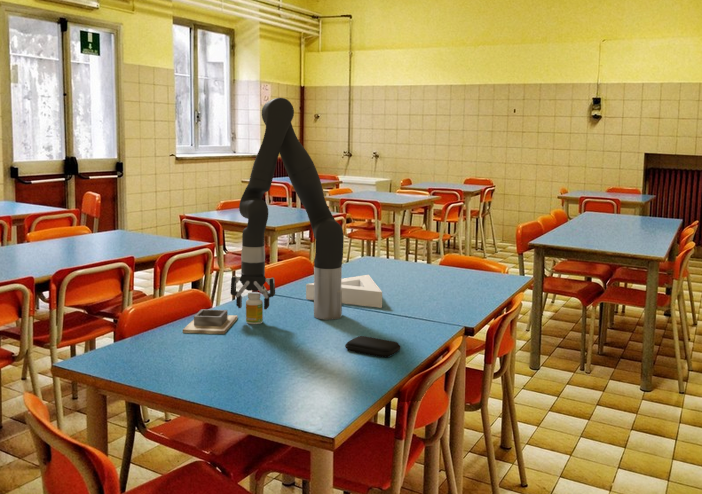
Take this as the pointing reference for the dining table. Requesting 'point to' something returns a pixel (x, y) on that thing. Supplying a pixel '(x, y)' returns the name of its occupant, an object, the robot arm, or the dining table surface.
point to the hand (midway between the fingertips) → (252, 308)
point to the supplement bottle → (254, 308)
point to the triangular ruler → (355, 291)
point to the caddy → (211, 322)
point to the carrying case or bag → (373, 346)
